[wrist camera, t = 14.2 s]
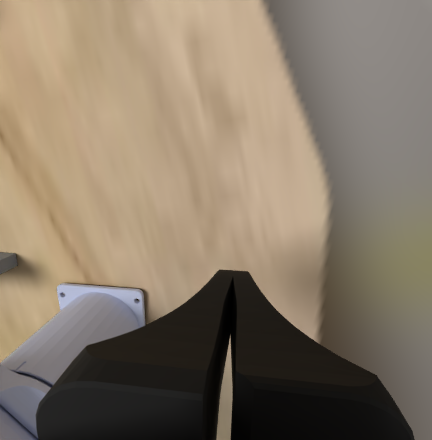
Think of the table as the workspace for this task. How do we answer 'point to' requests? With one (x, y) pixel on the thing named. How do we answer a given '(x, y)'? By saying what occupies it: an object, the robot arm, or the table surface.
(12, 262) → the gray parallel panels
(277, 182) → the table surface
